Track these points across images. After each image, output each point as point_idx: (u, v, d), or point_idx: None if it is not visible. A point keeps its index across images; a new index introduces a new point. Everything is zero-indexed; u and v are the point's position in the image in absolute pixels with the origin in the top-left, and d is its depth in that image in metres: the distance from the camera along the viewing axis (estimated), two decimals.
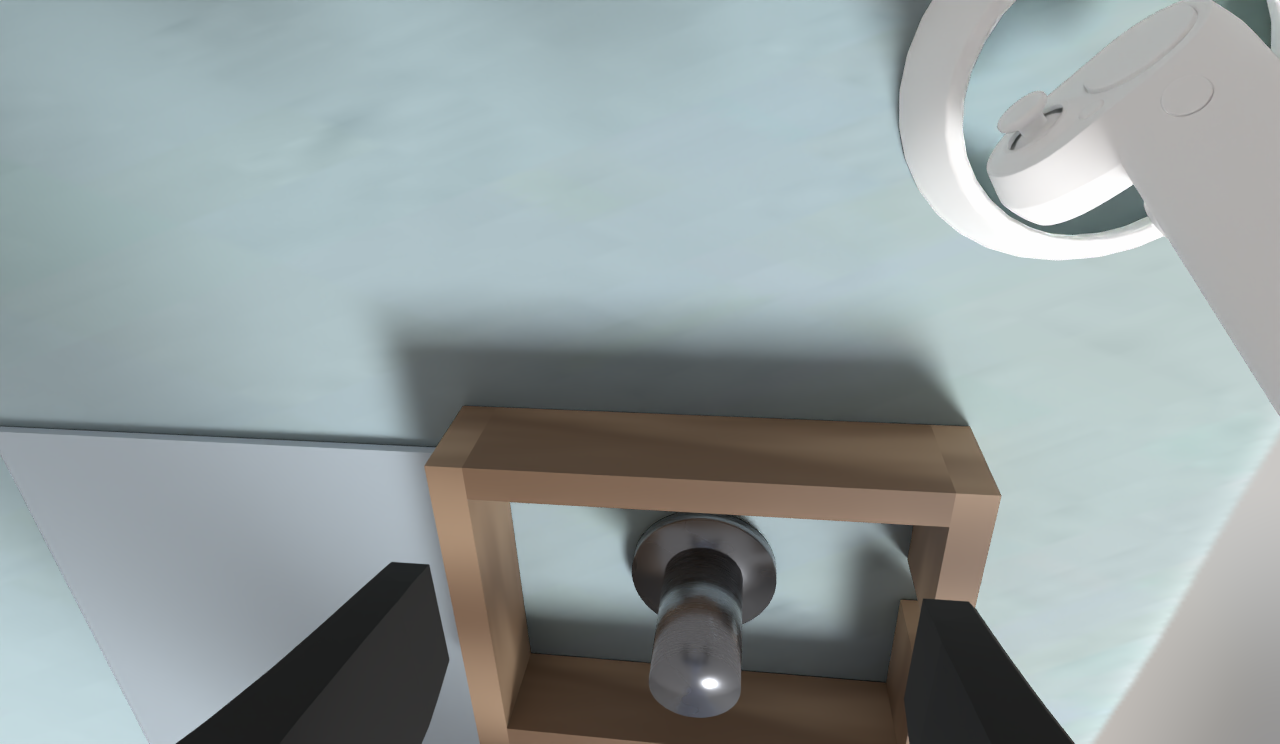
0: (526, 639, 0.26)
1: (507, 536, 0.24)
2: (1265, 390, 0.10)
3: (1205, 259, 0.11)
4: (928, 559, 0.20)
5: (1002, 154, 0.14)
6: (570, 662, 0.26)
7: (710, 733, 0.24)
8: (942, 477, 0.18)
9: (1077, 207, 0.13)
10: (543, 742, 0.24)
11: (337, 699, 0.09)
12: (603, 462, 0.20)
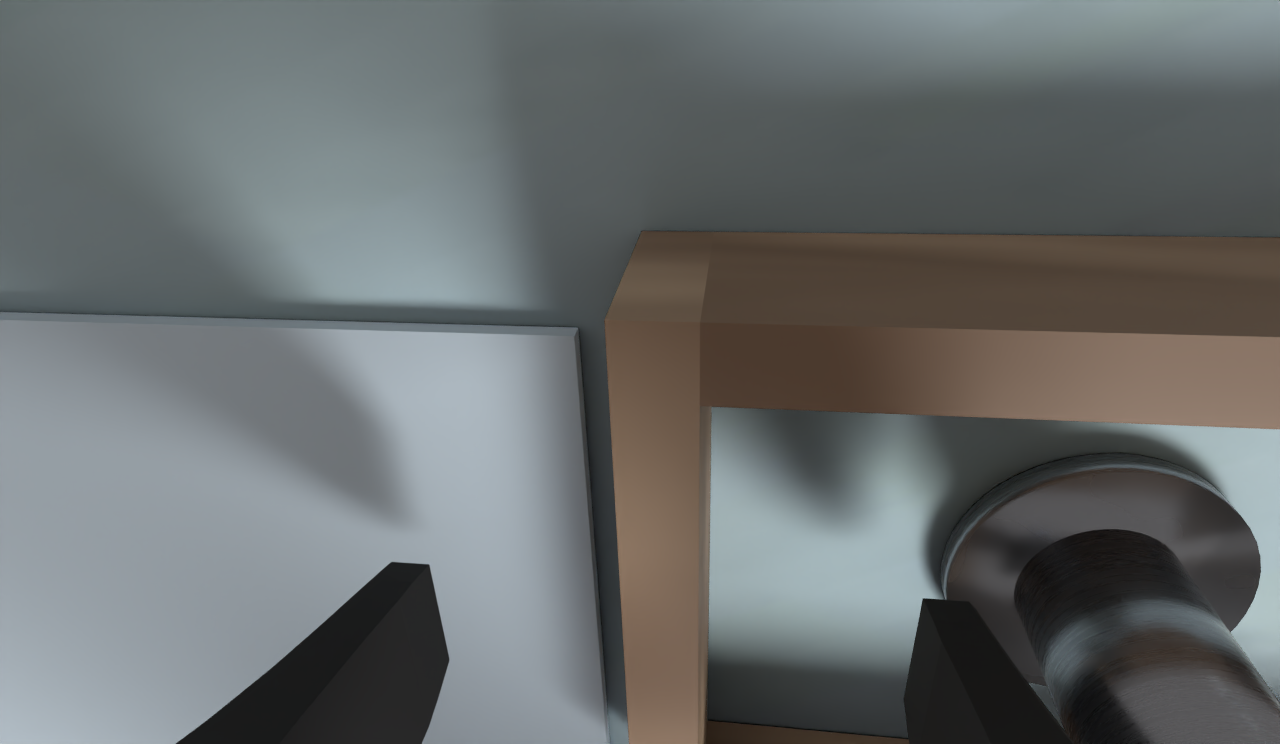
0: None
1: (708, 507, 0.12)
2: None
3: None
4: None
5: None
6: (782, 739, 0.15)
7: None
8: None
9: None
10: None
11: (337, 699, 0.09)
12: (1048, 309, 0.08)
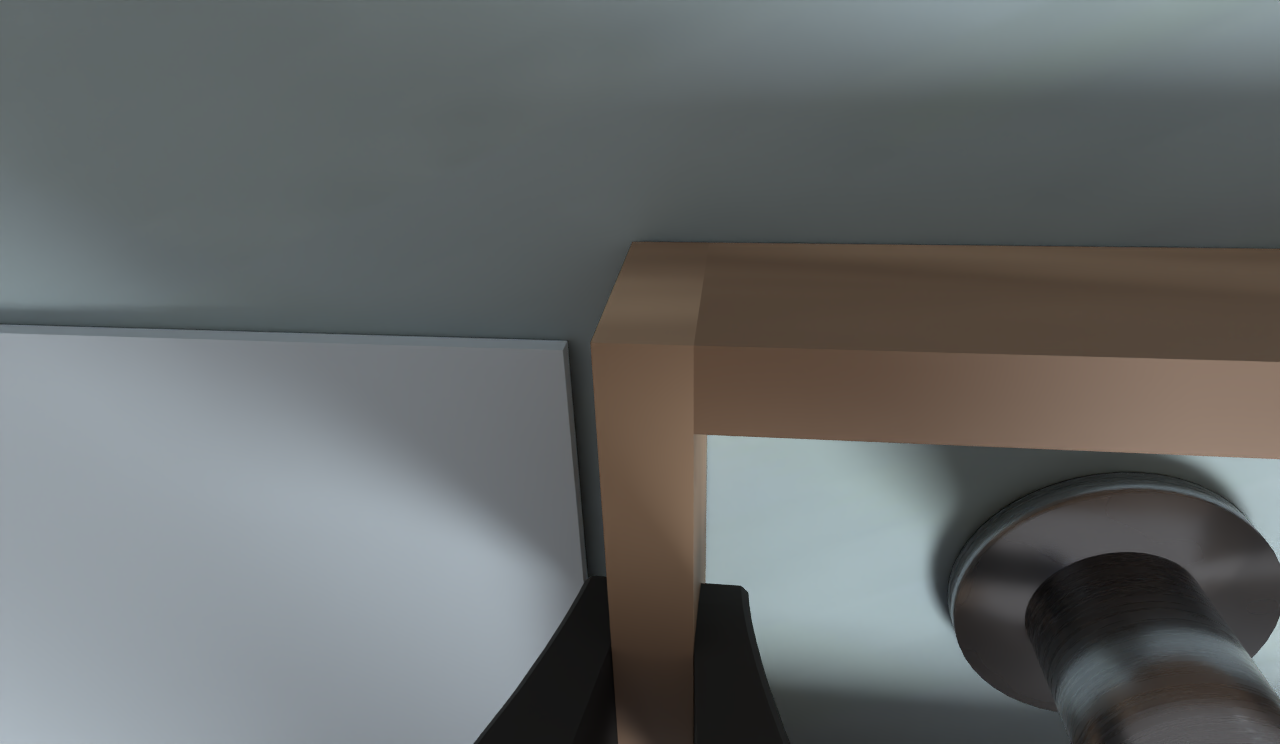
0: None
1: (704, 531, 0.11)
2: None
3: None
4: None
5: None
6: None
7: None
8: None
9: None
10: None
11: (589, 723, 0.09)
12: (1070, 330, 0.07)
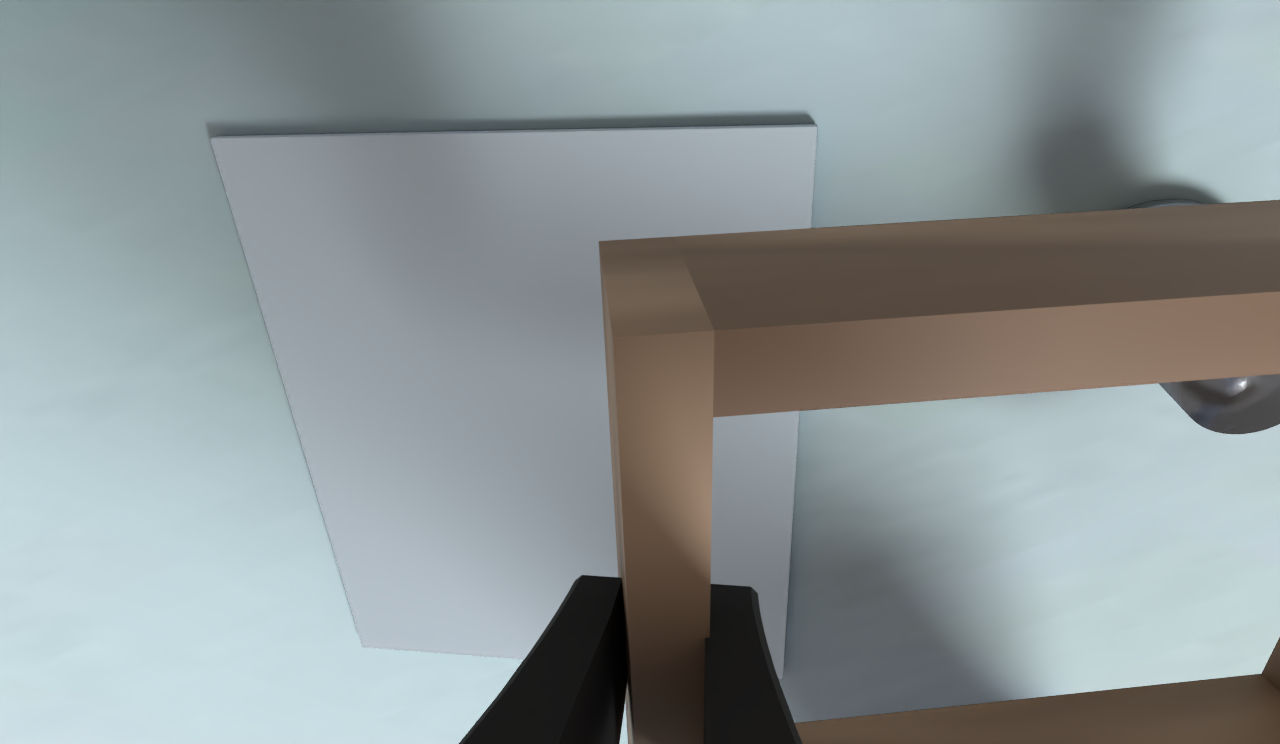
0: None
1: None
2: None
3: None
4: None
5: None
6: None
7: None
8: None
9: None
10: None
11: (576, 721, 0.09)
12: (1030, 287, 0.08)
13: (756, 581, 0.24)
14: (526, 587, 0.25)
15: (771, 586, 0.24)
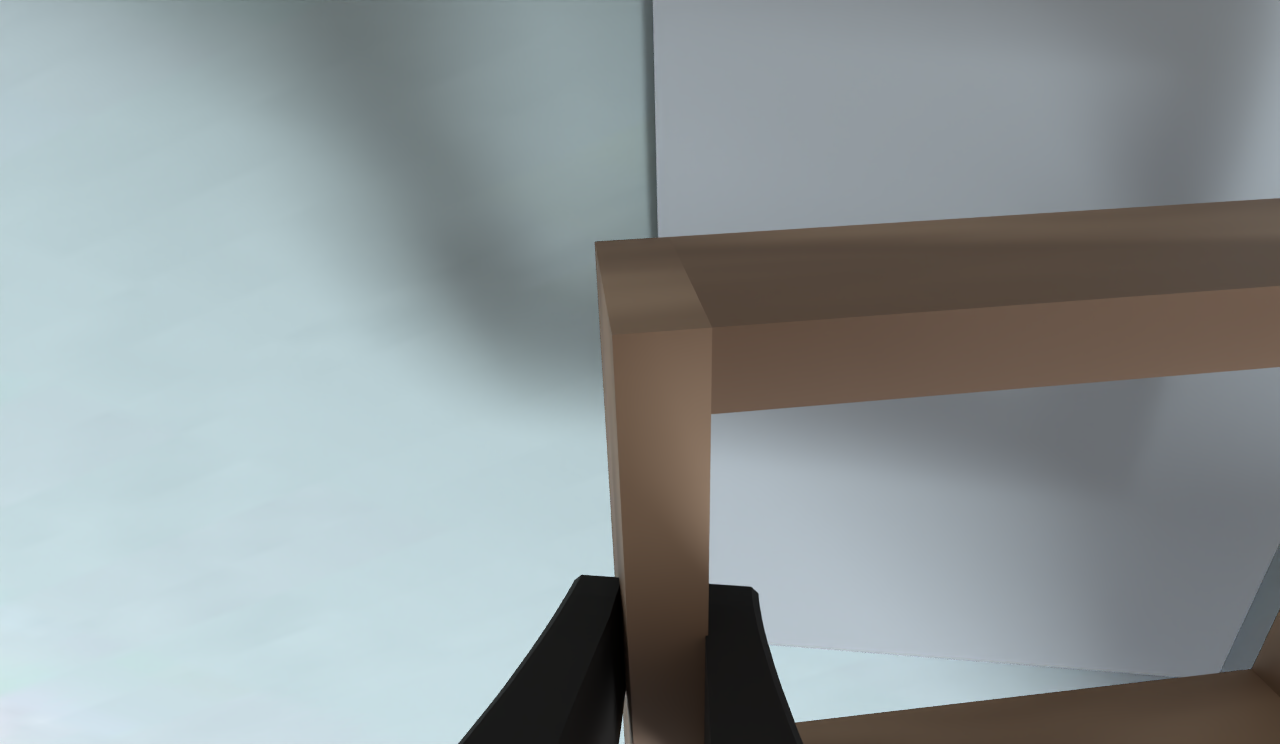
0: None
1: None
2: None
3: None
4: None
5: None
6: None
7: None
8: None
9: None
10: None
11: (576, 721, 0.09)
12: (1023, 284, 0.08)
13: (1228, 557, 0.19)
14: (909, 563, 0.20)
15: (1246, 563, 0.19)
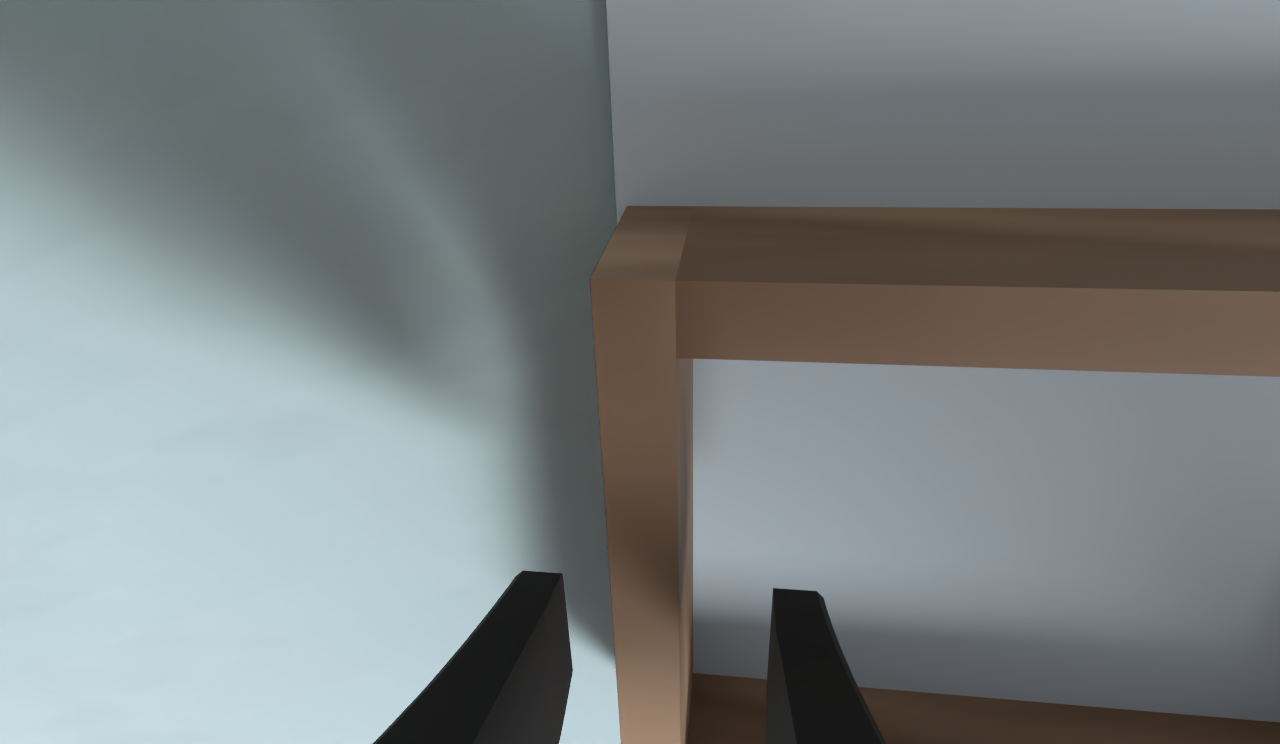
0: (692, 650, 0.16)
1: (690, 464, 0.13)
2: None
3: None
4: None
5: None
6: (763, 688, 0.16)
7: None
8: None
9: None
10: None
11: (501, 715, 0.09)
12: (987, 269, 0.09)
13: None
14: None
15: None
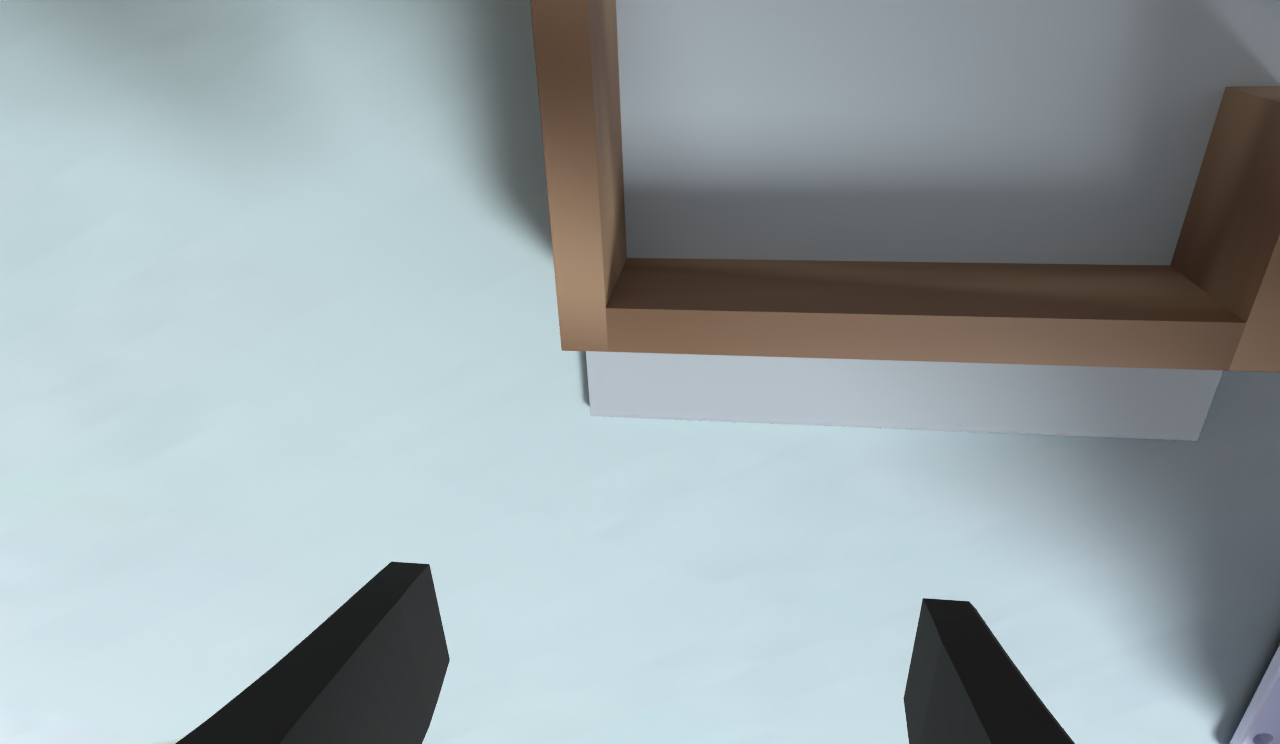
0: (623, 222, 0.18)
1: None
2: None
3: None
4: None
5: None
6: (687, 261, 0.18)
7: (924, 305, 0.15)
8: None
9: None
10: (661, 331, 0.16)
11: (337, 699, 0.09)
12: None
13: None
14: None
15: None
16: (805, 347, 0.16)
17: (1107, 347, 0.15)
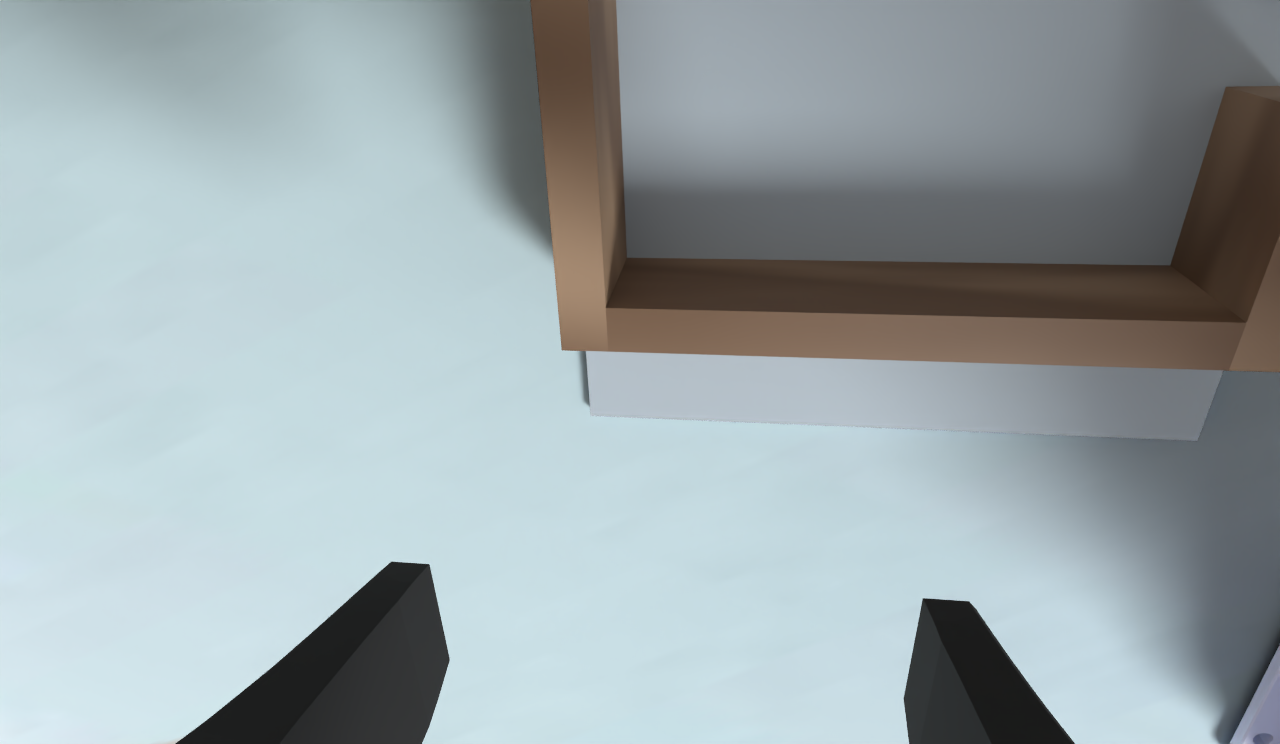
0: (623, 222, 0.18)
1: None
2: None
3: None
4: None
5: None
6: (687, 261, 0.18)
7: (924, 304, 0.15)
8: None
9: None
10: (661, 330, 0.16)
11: (337, 699, 0.09)
12: None
13: None
14: None
15: None
16: (805, 347, 0.16)
17: (1107, 347, 0.15)
